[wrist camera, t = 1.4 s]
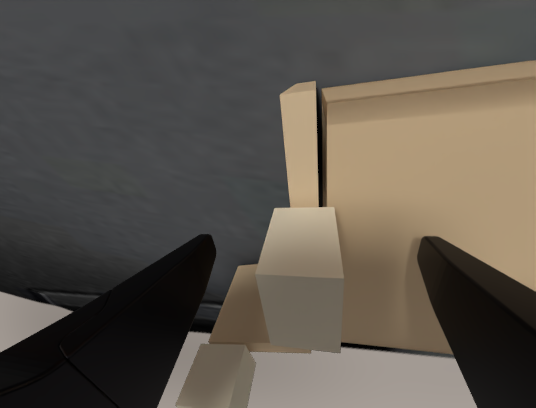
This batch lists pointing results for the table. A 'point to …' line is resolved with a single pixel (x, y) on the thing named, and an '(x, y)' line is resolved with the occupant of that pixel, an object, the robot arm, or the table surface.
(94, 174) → the table surface
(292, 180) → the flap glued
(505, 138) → the carton
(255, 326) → the flap open
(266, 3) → the table surface
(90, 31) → the table surface
